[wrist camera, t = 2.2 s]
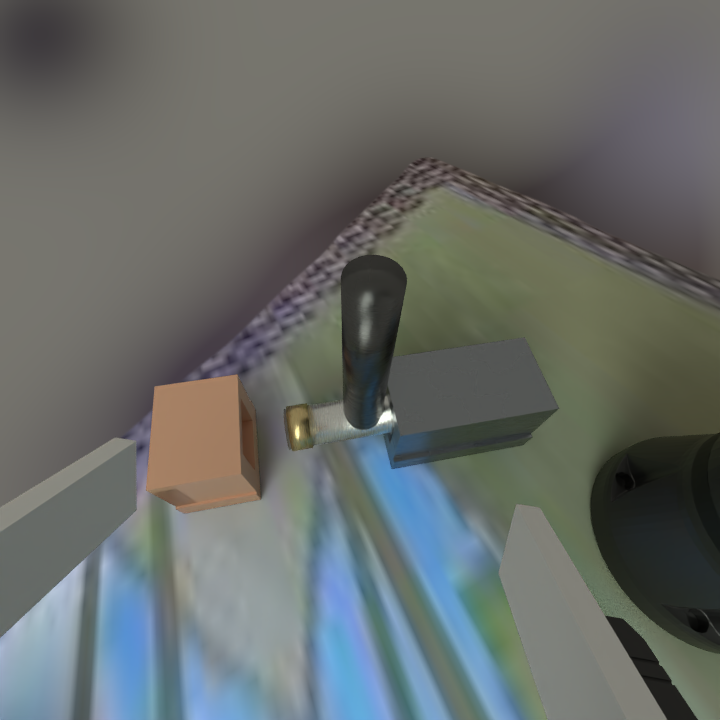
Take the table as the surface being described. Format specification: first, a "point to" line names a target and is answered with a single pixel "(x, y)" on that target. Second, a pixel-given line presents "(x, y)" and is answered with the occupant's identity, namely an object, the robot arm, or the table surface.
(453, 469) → the table surface
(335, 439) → the l-shaped tool
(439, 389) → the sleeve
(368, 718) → the table surface
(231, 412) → the tan box
